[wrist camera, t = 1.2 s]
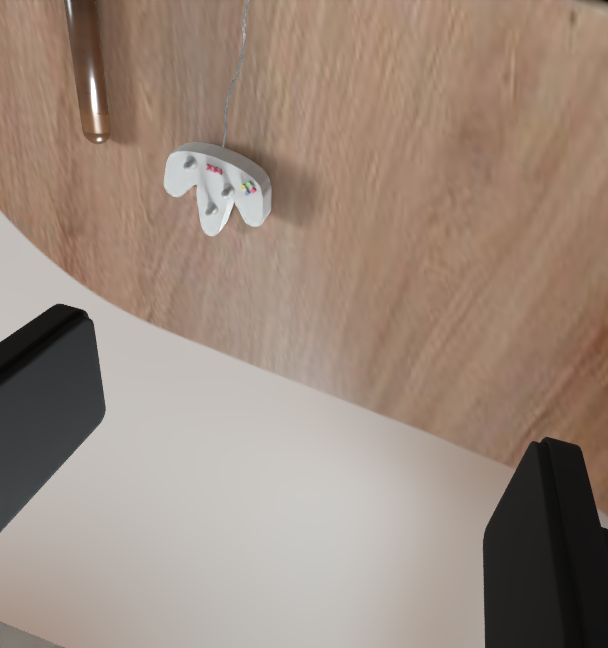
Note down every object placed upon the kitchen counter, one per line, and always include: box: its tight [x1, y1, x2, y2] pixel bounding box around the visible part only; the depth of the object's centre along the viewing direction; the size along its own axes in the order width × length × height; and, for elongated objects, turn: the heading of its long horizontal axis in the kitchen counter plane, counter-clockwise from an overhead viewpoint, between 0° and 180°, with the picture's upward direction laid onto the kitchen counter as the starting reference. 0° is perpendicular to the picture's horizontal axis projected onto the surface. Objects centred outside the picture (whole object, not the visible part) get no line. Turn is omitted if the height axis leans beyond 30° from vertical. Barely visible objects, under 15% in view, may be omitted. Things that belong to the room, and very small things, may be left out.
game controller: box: [164, 0, 271, 236], centre depth 24 cm, size 6×12×3 cm, turn 3°
